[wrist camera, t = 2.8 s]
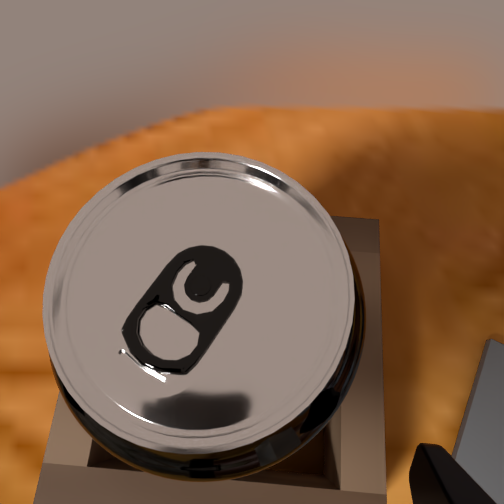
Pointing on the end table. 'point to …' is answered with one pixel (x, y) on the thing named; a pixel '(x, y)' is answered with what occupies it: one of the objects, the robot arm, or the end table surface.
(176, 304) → the beverage can
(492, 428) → the slate mat
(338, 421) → the pocket frame
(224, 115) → the end table surface
